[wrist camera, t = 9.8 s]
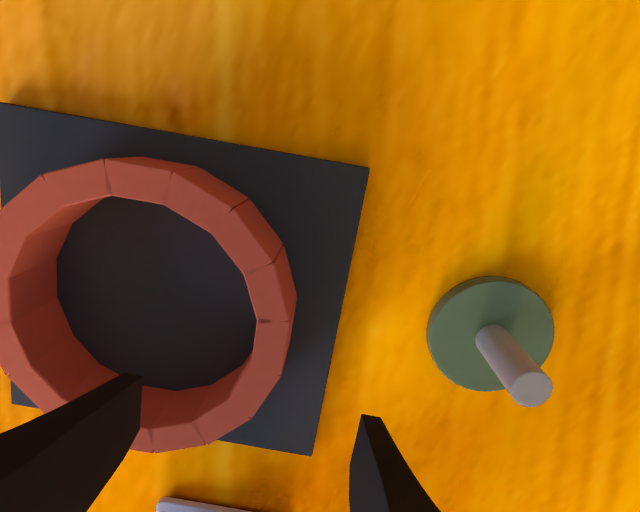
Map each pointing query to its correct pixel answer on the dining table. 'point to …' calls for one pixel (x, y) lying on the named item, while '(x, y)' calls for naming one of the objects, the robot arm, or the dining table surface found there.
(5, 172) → the mat
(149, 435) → the ring
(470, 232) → the dining table surface
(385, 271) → the dining table surface
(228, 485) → the dining table surface
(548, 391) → the post stand
